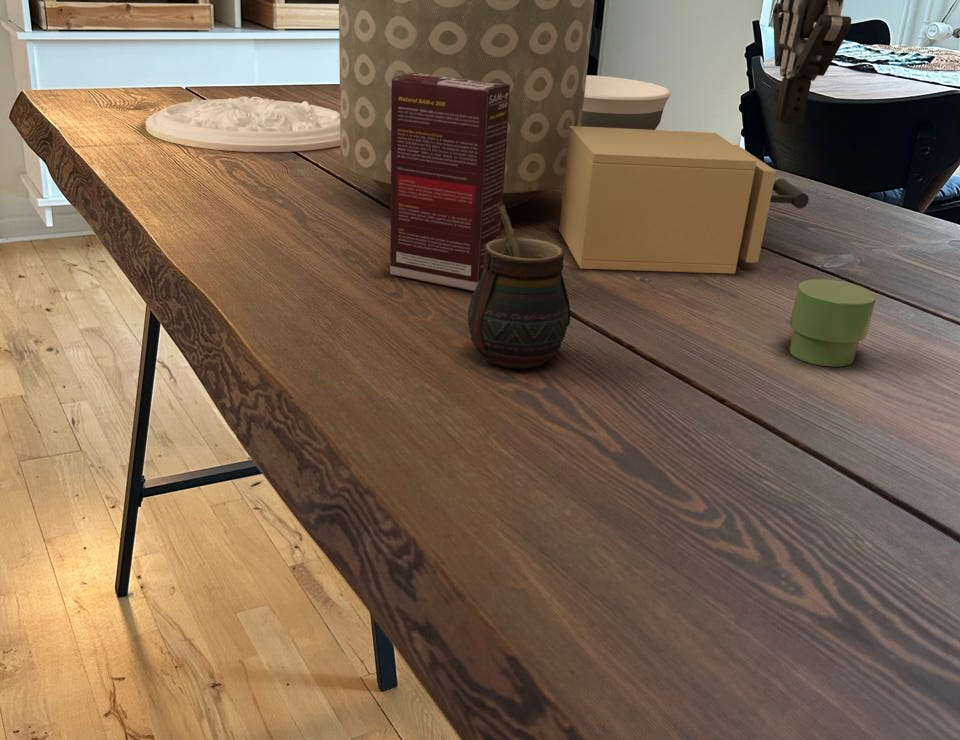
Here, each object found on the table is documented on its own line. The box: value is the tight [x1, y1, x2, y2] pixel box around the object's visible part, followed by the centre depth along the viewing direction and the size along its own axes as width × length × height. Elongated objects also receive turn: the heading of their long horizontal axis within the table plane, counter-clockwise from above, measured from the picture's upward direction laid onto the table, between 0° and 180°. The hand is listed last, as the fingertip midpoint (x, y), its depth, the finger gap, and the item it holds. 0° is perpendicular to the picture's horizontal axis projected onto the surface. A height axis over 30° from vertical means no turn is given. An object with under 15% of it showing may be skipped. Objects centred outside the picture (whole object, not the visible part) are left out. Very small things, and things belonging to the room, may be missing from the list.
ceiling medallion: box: [145, 96, 340, 153], centre depth 138 cm, size 28×28×3 cm
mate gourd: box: [467, 204, 571, 370], centre depth 72 cm, size 7×8×10 cm
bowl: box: [581, 74, 672, 130], centre depth 139 cm, size 19×19×8 cm
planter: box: [338, 0, 595, 210], centre depth 105 cm, size 25×25×24 cm
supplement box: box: [389, 73, 510, 292], centre depth 85 cm, size 9×5×16 cm, turn 65°
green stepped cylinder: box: [789, 278, 877, 368], centre depth 77 cm, size 6×6×5 cm
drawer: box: [733, 144, 809, 264], centre depth 98 cm, size 18×11×8 cm, turn 95°
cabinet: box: [558, 126, 757, 275], centre depth 97 cm, size 15×13×10 cm
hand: (787, 122), depth 95 cm, fingers closed
